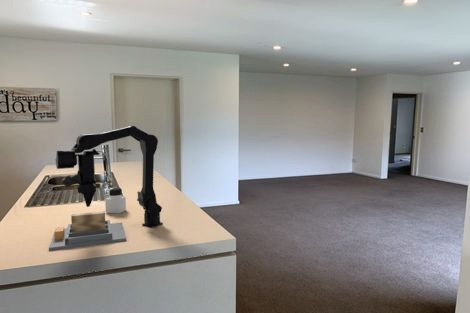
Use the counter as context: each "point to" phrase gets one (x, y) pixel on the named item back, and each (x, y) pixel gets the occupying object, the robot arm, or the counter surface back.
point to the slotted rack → (87, 236)
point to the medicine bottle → (115, 201)
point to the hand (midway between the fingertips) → (88, 206)
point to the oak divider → (88, 221)
